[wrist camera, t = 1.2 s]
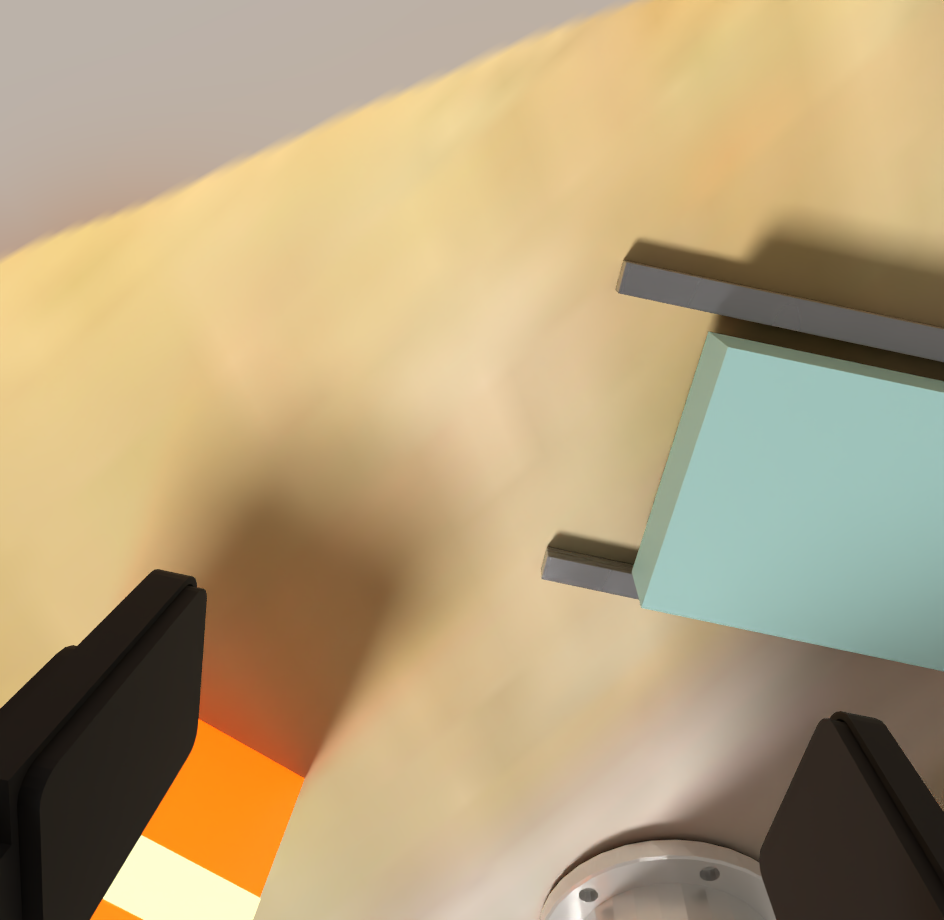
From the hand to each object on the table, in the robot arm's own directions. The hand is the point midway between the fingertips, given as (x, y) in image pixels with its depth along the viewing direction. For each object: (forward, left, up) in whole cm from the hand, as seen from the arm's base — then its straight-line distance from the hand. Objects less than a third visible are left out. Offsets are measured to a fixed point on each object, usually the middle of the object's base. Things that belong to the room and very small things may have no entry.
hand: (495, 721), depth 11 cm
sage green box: (0, -11, -16) cm, 20 cm away
